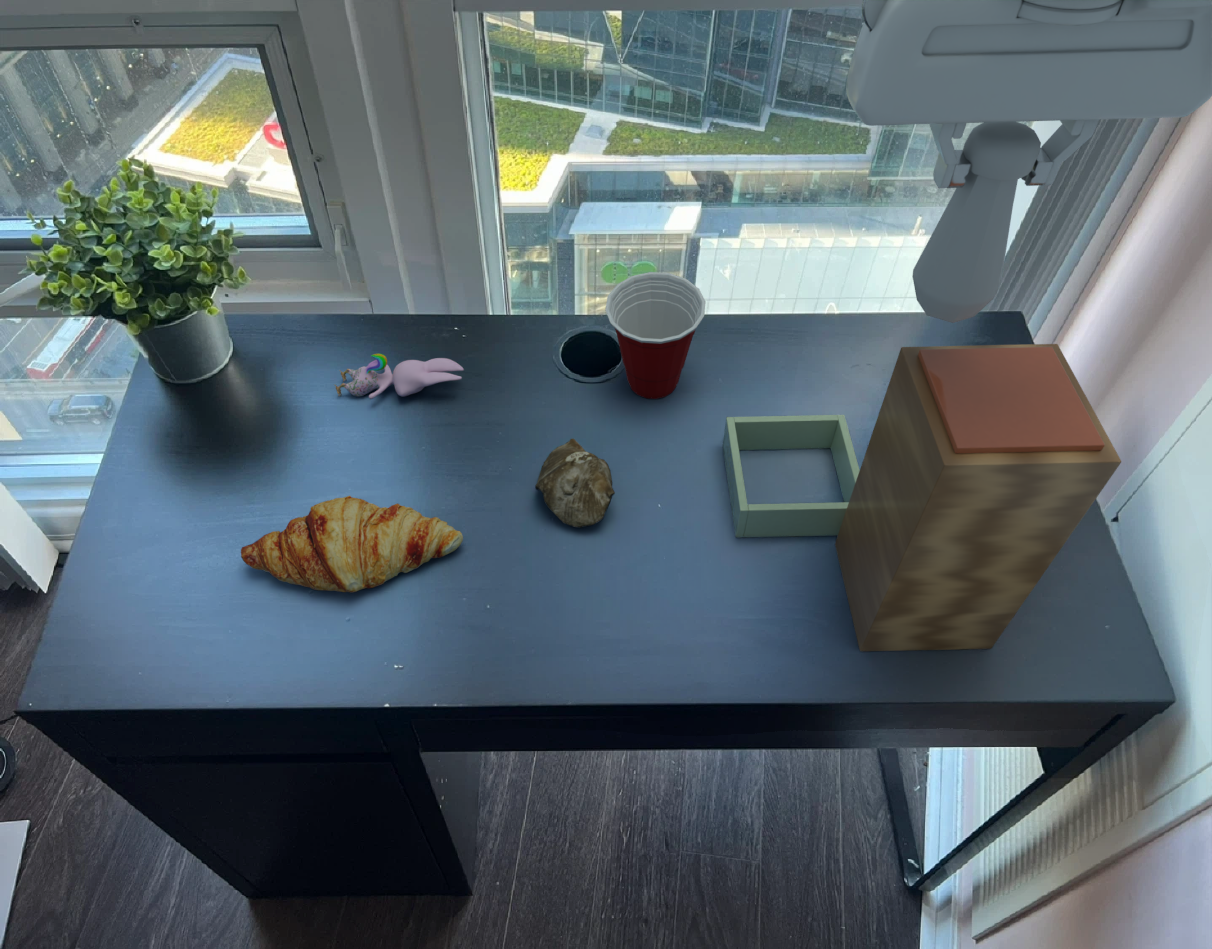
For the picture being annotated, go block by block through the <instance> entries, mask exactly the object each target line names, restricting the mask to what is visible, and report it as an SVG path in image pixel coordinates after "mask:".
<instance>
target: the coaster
mask: <svg viewBox="0 0 1212 949" xmlns="http://www.w3.org/2000/svg"><path fill="white" fill-rule="evenodd" d="M918 357H919V359H920V362H921V365H922V367H923V370H924V372H925V375H926V378H927V380H928V383H929V386H930V388H931V391H932V394H933V396H934V399H935V401H936V404H937V407H938V409H939V412H940V415H941V417H942V420H943V423H944V425H945V428H946V430H947V433H948V436H949V438H950V441H951V444H952V446H953V449H954V452H955V453H1005V452H1054V451H1101V450H1102V449H1103V447H1104V446H1105V444H1104V442H1103V440H1102V438H1101V437H1100V435H1099V433H1098V431H1097V429H1096V427H1095V425H1094V424H1093V422H1092V420H1091V418H1090V416H1089V414H1088V412H1087V411H1086V409H1085V407H1084V405H1083V403H1082V401H1081V399H1080V398H1079V396H1078V394H1077V392H1076V390H1075V388H1074V386H1073V385H1072V383H1071V381H1070V379H1069V377H1068V375H1067V373H1066V371H1065V370H1064V368H1063V366H1062V364H1061V362H1060V360H1059V358H1058V357H1057V355H1056V353H1055V351H1054V349H1053V347H1017V348H968V349H920V351H919V353H918Z"/></svg>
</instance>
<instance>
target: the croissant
mask: <svg viewBox="0 0 1212 949" xmlns="http://www.w3.org/2000/svg"><path fill="white" fill-rule="evenodd" d="M463 541H464V535H463V533H462V532H461V531H460V530H457V529H455V528H454V527H453V526H451V525H449V524H448V522H447V521H444V520H441V519H440V517H438V516H434V517H427V516H424V515H423V514H422V513H420V511H417V510H415V509H414V508H412V507H411V506H405V505H401V504H400V503H394V504H391V505H390V506H389V507H387V506H383V507H380V506H378V505H376V504H374V503H371V502H368V501H366V500H365V499H362V498H358V497H353V496H352V495H347V496H344V497H343V496H342V497H335V498H333V499H329V500H325V501H321V502H319V503H316V504H313V506H310V510H309V512H308V514H307V515H304V516H298V517H294V518H292V519H290V520H289V522H288V523H287V525H286V527H285V529H284V530H282V531H280V530H275V531H271V532H269V533H266V534H264V535H262V536H261V537H260V538H258V539H257V540H256V541H254V542H252V543H251V544H247V545H245V546H242V547H241V549H240V558H241V559H242V561H243V562H244V563H245V565H247V566H249V567H250V568H251V569H255V570H257V571H258V570H259V571H264V572H266V573H269V574H270V575H271V576H272V577H273V578H275V579H277V580H278V581H280V582H283V583H287V584H290V585H296V586H302V587H306V588H310V589H312V590H315V591H327V592H333V591H335V592H339V593H341V592H342V593H357V592H358V591H361V590H364V589H372V588H373V589H374V588H376V587H379V586H381V585H384V584H385V582H387V581H389V580H391V579H393V578H394V577H397V576H398V574H399V573H404V574H406V573H409V572H411V571H413V570H416V569H418V568H419V567H420V566H421V565H424V563H427V562H429V561H430V560H431V559H440V558H443V557H444V556H446V555H448V554H452V553H453V552H454V551H456V550H457V549H458V548H459V547H460V546H461V545H462V543H463Z"/></svg>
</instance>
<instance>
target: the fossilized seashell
mask: <svg viewBox="0 0 1212 949" xmlns="http://www.w3.org/2000/svg"><path fill="white" fill-rule="evenodd" d="M534 487H535V490H537V491H540V492H541V494H542V496H543V501H544V503H545V505H546V506H547V508H548V509H549V510H550V511H551V512H552V513H553V515H555V517H557V518H558V519H559V521H561V522H562V524H565V525H567V526H569V527H574V528H579V529H581V528H583V527H591V526H594V525H595V524H598V523H599V522H601V521H602V520H603V519H604V517H605V515H606V512H607V510H608V508H609V506H610V504H611V500H612V496H614V495H615V494H616V492H615V490H614V488H613V477H612V470H611V468H610V466H609V463H608V462H607V461H606V460H605V459H603V458H599V457H598V455H596V454H595V453H592V452H589V451H586V450H585V449H584V447H583V446H582V445H581V444H580V443H579V442H578V441H577V440H576V439H575V438H570V439H569V440H568V441H567V442H566V443H564V444H562V445H559V446H557V447H555V448H554V449H553V450H552V451H550V453H549V454H548V456H547V457H546V459H544V461H543V463H542V466H541V468H540V471H539V474H538V478H537V481H536V484H535V485H534Z"/></svg>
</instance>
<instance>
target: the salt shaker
mask: <svg viewBox="0 0 1212 949" xmlns="http://www.w3.org/2000/svg"><path fill="white" fill-rule="evenodd" d="M1041 147H1042V142H1041V139H1040V137H1039V136H1038V134H1037V133H1036V131H1035V129H1033V128H1031V127H1030V126H1028V125H1026V124H1025V123H1023V122H1022V123H1021V122H985V123H979V124H978V125H977V126H974V127H973V128H972V129H971V131H970V133H969V134H968V136H967V138H966V140H965V142H964V145H963V148H962V150H963V153H964V155H965V157H966V159H967V160H969V161H970V163H971V167H970V170H969V173H968V175H967V176H966V177H964V178H965V180H966V182H965V185H964V186H963V187H962V188H955V189H954V192H953V194H952V196H951V198H950V200H949V202H948V204H947V205H946V207H945V209H944V211H943V213H942V215H941V216H940V218H939V220H938V222H937V224H936V226H935V228H934V229H933V232H932V233H931V235H930V238H929V239H928V240H927V243H926V245H925V247H924V249H923V250H922V252H921V255H920V256H919V258H918V260H917V261H916V264H915V265H914V267H913V269H912V275H911V276H912V282H913V286H914V292H915V298H916V301H917V303H918V304H919V306H920V307H921V309H922V310H923V312H924V314H925V315H926V316H927V317H931V318H934V319H937V320H939V321H944V322H947V323H950V324H954V323H958V322H962V321H964V320H965V321H966V320H968V319H971V318H974V317H976V315H978V314H979V313H980V312H981V311H982V310H983V309H984V308H985V307H986V306H988V304H990V303H991V302H992V301H993V300H994V298H995V297H996V296H997V294H998V292H999V290H1000V289H999V288H1000V286H1001V285H1002V279H1003V272H1004V268H1005V267H1004V265H1005V260H1006V253H1007V247H1008V240H1009V235H1010V226H1011V221H1012V216H1013V215H1012V214H1013V208H1014V201H1015V198H1016V191H1017V187H1018V182H1019V181H1018V180H1019V179H1021V178H1022V177H1024V176H1026V175H1028V174H1029V173H1030V171H1031V170H1032V168H1033V166H1034V164H1035V161H1036V159H1037V157H1038V155H1039V151H1040V148H1041Z"/></svg>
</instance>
